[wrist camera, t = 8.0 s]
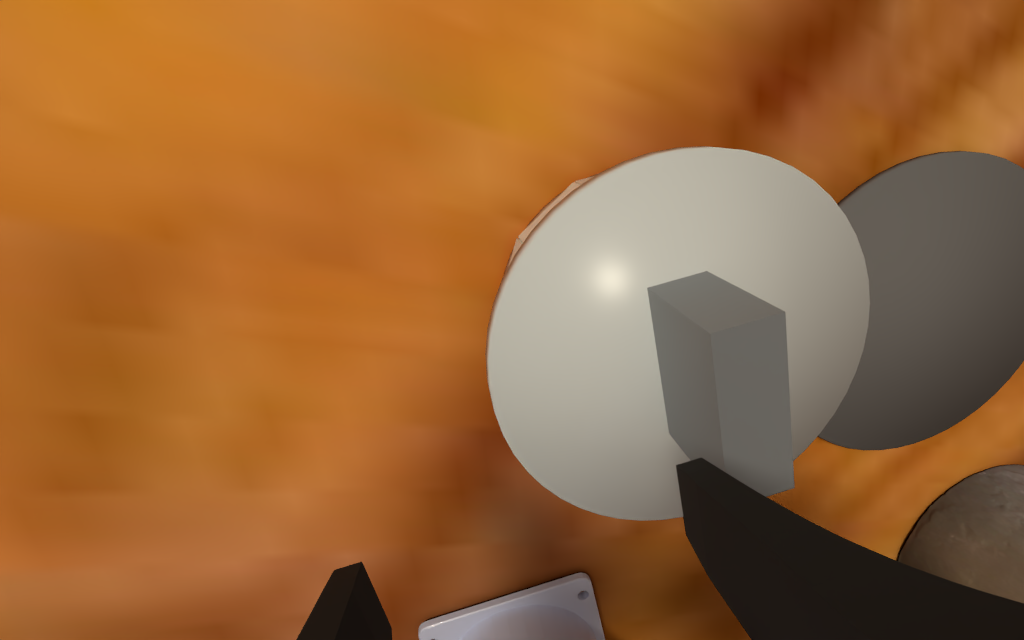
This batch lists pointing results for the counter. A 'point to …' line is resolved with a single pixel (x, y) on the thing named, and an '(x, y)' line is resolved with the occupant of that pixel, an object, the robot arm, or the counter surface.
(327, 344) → the counter surface
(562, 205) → the lid
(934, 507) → the pillar candle
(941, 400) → the mat
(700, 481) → the robot arm
